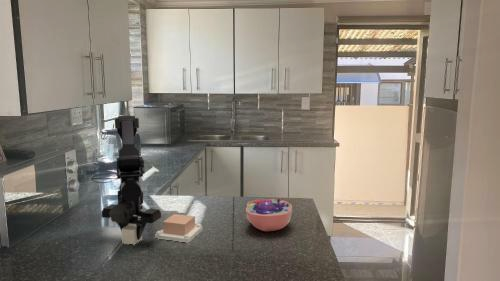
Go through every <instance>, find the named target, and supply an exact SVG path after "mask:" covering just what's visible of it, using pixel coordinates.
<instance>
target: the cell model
mask: <svg viewBox="0 0 500 281" xmlns="http://www.w3.org/2000/svg"><path fill="white" fill-rule="evenodd" d="M245 212H246V219H247V220H248V221H249V222H250V224H251V225H252V226H253V227H254V228H256V229H258V230H259V231H260V232H273V231H278V230H282V229H283V228H285V227H286V226H287V225H288V224H289V222H290V221H291V217H292V214H293V213H292V212H293V205H292V204H291V203H289V202H288V201H286V200H283V199H280V198H268V199H267V198H266V199H255V200H252V201H248V202H247V203H246V208H245Z"/></svg>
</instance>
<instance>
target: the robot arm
mask: <svg viewBox="0 0 500 281" xmlns="http://www.w3.org/2000/svg"><path fill="white" fill-rule="evenodd" d="M139 121H140V119H139V118H138V117H136V116H135V115H118V116H117V118H116V117H115V118H114V129H115V130H117V132H116V133H117V134H118V136H119V138H120V139H121V148H120V149H119V150H118V157H116V176H117V177H116V178H117V179H120V184H119V187H118V188H119V190H117V204H109V205H107V206H106V207H104V208H102V210H101V218H106V219H110V220H111V222H114V223H116V224H117V226H118V227H119V229H120V231H121V232H122V228H124V227H125V226H127V225H129V224H135V225H136V226H137V240H139V239H140V238H141V235H142V236H143V233H144V231H145V227H146V226H147V224H153V223H155V222H156V221H158V220H159V219H161V218H162V212H161V210H160V209H158V208H148V209H146V210H143V207H144V206H143V204H144V191H143V190H142V188H141V184H140V178H143V177H144V174H145V161H144V159H143V157H142V156H140V150H139V149H138V148H137V147H136V145H135V141H136V140H135V136H136V134H137V133H138V129H139V128H140V122H139ZM142 210H143V211H142Z"/></svg>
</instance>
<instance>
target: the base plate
mask: <svg viewBox="0 0 500 281" xmlns="http://www.w3.org/2000/svg"><path fill="white" fill-rule="evenodd" d="M203 229H204V228H203V225H202V224H201V223H196V216H193V215H187V214H185V215H184V214H177V213H174V214H172V215H170V216H169V217H168V218H166V219H165V220H163V222H162V229H161V230H157V231H156V233H154V239H155V238H158V239H157V240H159V239H165V240H164V241H166V240H173V241H172V242H174V241H179V242H178V243H181V242H186V243H185V244H189V243H191V241H193V239H194V238H196V237H197V235H199V234H200V233H201V232H203ZM195 236H196V237H195ZM188 242H189V243H188Z"/></svg>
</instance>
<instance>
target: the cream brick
mask: <svg viewBox="0 0 500 281" xmlns="http://www.w3.org/2000/svg"><path fill="white" fill-rule="evenodd" d="M140 240H141V241H143V234H142V235H141V238H140V239H139V240H137V226H136V224H135V223H128V225H127V226H125V227H124V228H122V231H121V242H122V243H124V245H129V244H133V245H132V246H135V244H136V243H137V242H138V243H140V242H141V241H140ZM139 241H140V242H139ZM122 243H121V244H122ZM138 243H137V244H138ZM137 244H136V245H137Z"/></svg>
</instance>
